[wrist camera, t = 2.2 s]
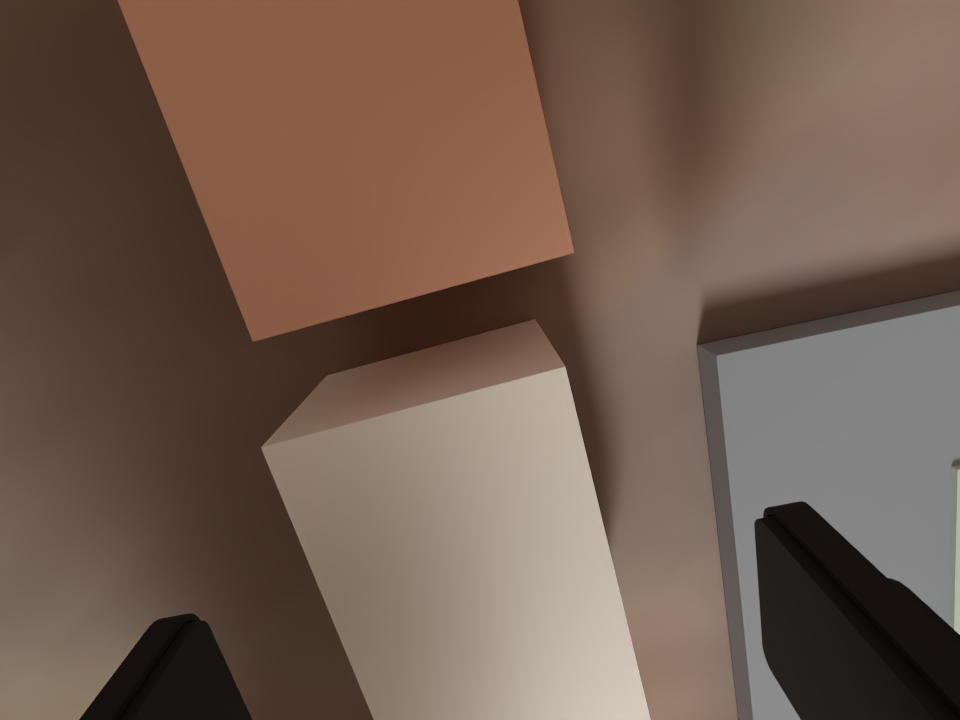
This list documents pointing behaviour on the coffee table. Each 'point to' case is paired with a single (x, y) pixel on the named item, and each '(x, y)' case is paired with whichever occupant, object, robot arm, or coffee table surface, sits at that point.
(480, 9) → the terracotta block
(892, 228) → the coffee table surface
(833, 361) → the build board
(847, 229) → the coffee table surface
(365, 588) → the cream block
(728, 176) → the coffee table surface
